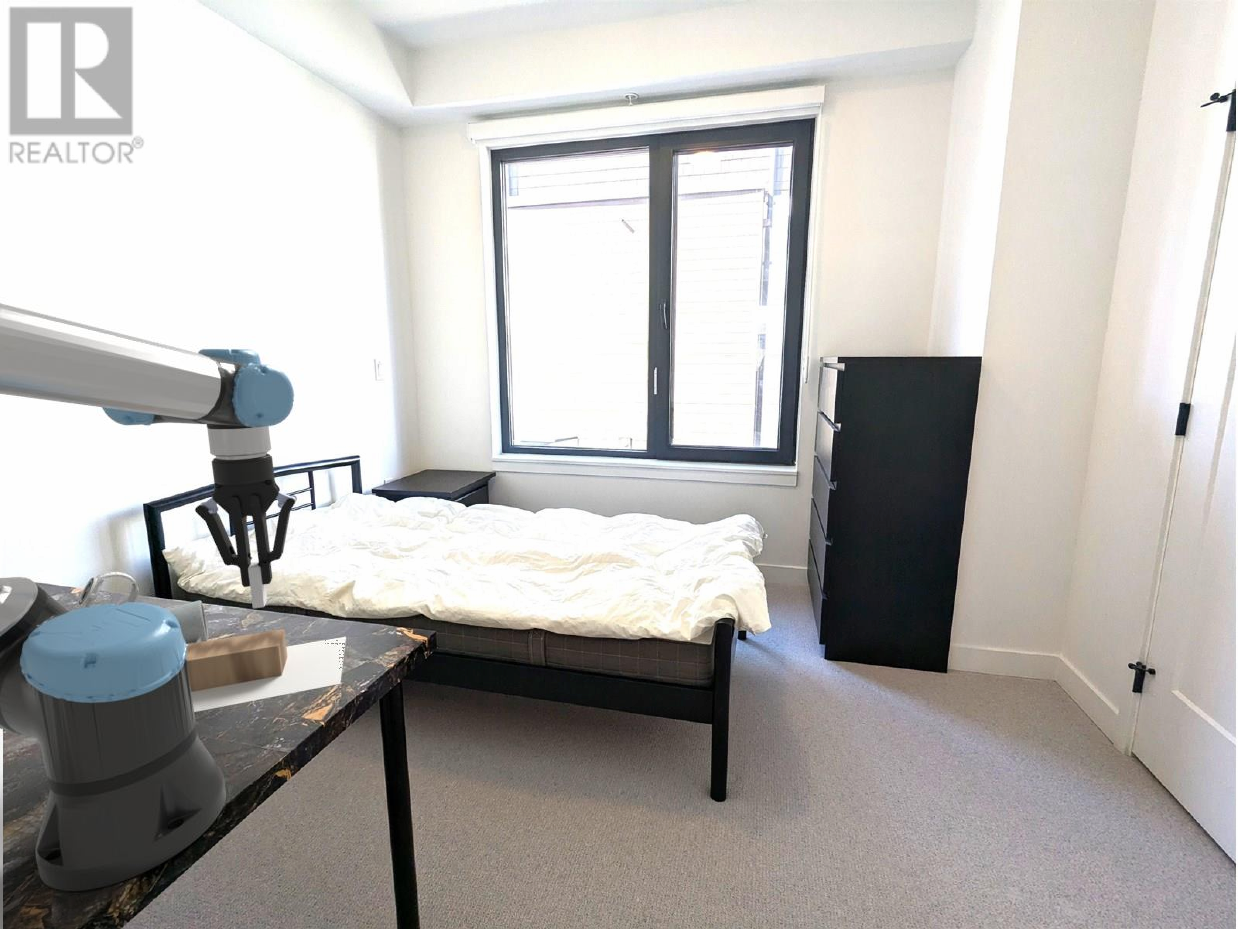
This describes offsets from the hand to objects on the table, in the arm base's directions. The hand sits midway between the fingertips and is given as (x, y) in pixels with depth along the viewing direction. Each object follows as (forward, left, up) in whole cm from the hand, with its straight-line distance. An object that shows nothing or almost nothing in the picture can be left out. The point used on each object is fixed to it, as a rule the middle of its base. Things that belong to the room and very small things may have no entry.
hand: (260, 604), depth 88 cm
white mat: (-1, 0, -11) cm, 11 cm away
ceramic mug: (+13, +15, -12) cm, 23 cm away
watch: (+26, +28, -12) cm, 40 cm away
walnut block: (0, -2, -9) cm, 9 cm away
